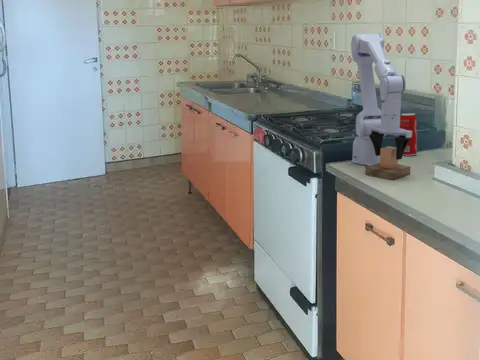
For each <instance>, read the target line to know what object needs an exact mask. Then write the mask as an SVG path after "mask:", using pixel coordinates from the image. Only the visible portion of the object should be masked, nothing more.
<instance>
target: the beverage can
mask: <svg viewBox="0 0 480 360" xmlns="http://www.w3.org/2000/svg"><path fill="white" fill-rule="evenodd" d="M417 122H418V121H417V114H416V113H415V112H414V113H413V112H405V113H400V128H401V129H405V130H409V131H412V137H411V139H410V141H409V142H408V144H407V146H406V148H405V150H404V153H403V156H404V155H405V156H406V157H408V156H409V157H410V156H411V157H412V156H416V155H417V153H418V151H417V149H418V146H417V145H418V144H417V142H418V141H417V140H418V138H417V137H418V133H417V131H418V130H417V126H418V124H417Z"/></svg>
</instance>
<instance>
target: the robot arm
mask: <svg viewBox="0 0 480 360" xmlns="http://www.w3.org/2000/svg"><path fill="white" fill-rule="evenodd" d="M384 47H385V37H384V35H383V34H382V33H381V32H379V33H362V34H361V33H360V34H358V33H354V35H353V36H352V37H351V42H350V50H351V57H352V61H353V62H355V63H356V66H357V70H358V71H357V73H358V78H359V80H358V81H359V88H360V97H361V103H362V111H359V113H358V114H357V115H356V118H355V133H356V135H357V136H356V137H355V138H354V140H353V143H352V158H351V159H352V160H351V161H350V162H351V163H352V164H359V165H362V166H366V167H367V166H370V165H374V164H377V163H380V151H381V148H383V141H384V139H385V136H387V135H389V136H396V137H395V138H394V141H395V148H396V159H397V160H398V161H399V160H402V159H403V157H404V155H403V153H404V150H405V148H406V146H407V144H408V142H409V141H410V139H411V137H412V131H409V130H405V129H401V128H400V117H401V107H402V106H401V105H402V94H404V92H405V91H406V80H405V76H404V75H403V74H400V73H398V72H397V71H396V68H395V66H394V65H393V63H392V61H391V60H390V59H389V58H386V54H385V52H384ZM373 64H375V65H374V68H373ZM374 72H375V74H376V76H377V78H378V81H379V84H378V85H379V86H378V87H379V93H380V96H379V97H380V100H381V108H379V106H378V100H377V92H376V91H377V90H376V85H375V77H374Z"/></svg>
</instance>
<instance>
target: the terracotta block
mask: <svg viewBox="0 0 480 360" xmlns="http://www.w3.org/2000/svg"><path fill="white" fill-rule="evenodd" d="M398 164H399V160H397V159H396V146H388V145H386V146H382V148H381V151H380V167H384V168H389V169H391V168H394V167H398Z"/></svg>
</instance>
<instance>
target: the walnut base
mask: <svg viewBox="0 0 480 360" xmlns="http://www.w3.org/2000/svg"><path fill="white" fill-rule="evenodd" d="M364 173H365V174H366V176H370V175H372V176H371V177H375V176H377V177H376V178H379V177H381V178H380V179H384V178H385V180H390V181H394V179H395V180H397V178H398V179H400V178H402V177H406V176H408V175H411V166H410V165H406V164H399V163H398V167H394V168H391V169H389V168H384V167H380V163H377V164H374V165H370V166H367V165H366V166H365V172H364Z"/></svg>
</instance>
